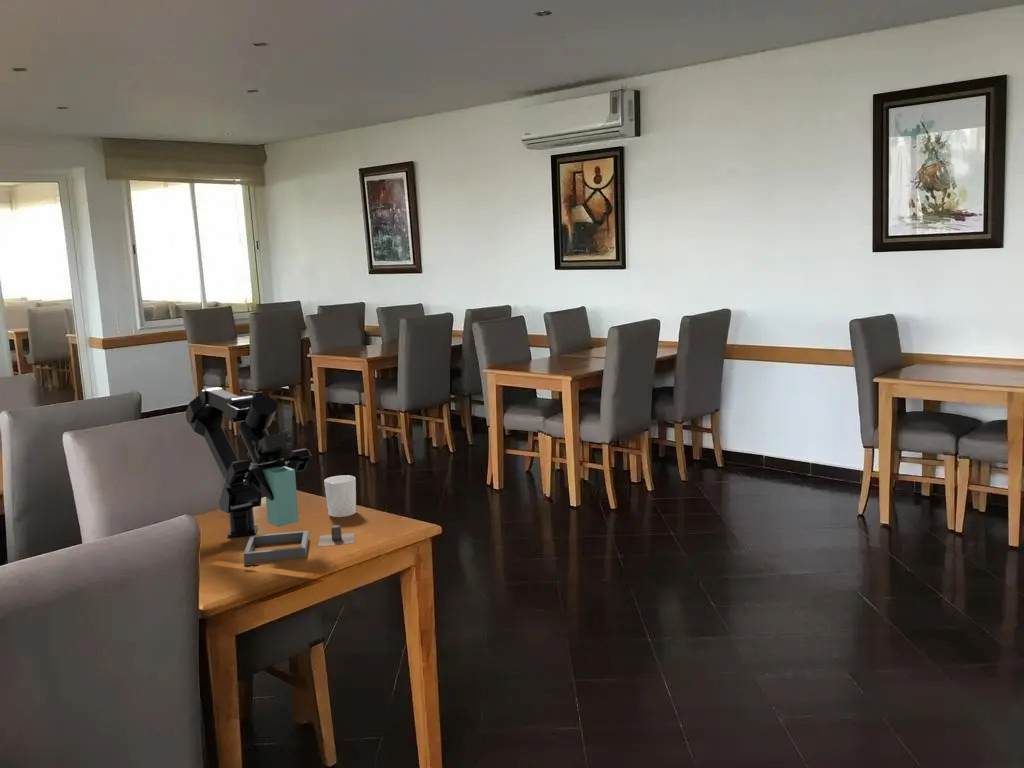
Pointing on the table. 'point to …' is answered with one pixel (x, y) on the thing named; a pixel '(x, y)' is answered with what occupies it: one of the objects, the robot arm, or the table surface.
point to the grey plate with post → (336, 537)
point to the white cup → (341, 495)
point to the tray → (277, 553)
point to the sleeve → (282, 496)
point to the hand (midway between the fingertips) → (283, 496)
